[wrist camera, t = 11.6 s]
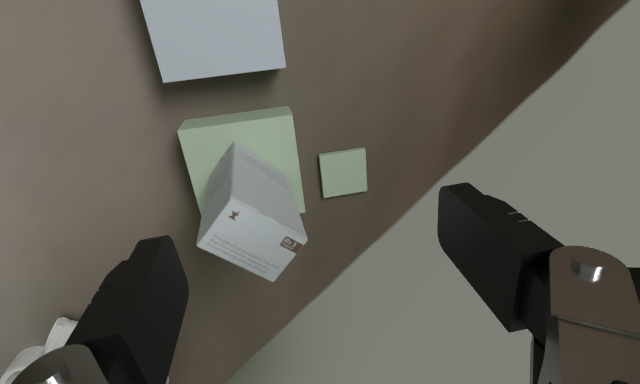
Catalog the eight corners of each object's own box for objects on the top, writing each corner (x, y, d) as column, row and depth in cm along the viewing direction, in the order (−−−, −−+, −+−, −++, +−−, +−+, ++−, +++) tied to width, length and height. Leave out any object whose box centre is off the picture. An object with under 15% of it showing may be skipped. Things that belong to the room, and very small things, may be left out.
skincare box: (208, 175, 32) (187, 249, 22) (235, 136, 31) (226, 194, 21) (264, 207, 35) (270, 289, 24) (291, 172, 34) (310, 241, 23)
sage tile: (363, 147, 38) (365, 148, 38) (365, 188, 40) (367, 190, 40) (318, 154, 38) (319, 156, 37) (322, 195, 40) (323, 198, 39)
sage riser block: (288, 105, 35) (292, 114, 31) (300, 195, 39) (305, 212, 36) (184, 119, 34) (177, 130, 30) (209, 210, 38) (205, 229, 35)
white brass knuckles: (191, 336, 46) (155, 410, 50) (31, 302, 40) (7, 389, 44) (186, 358, 43) (149, 434, 47) (13, 324, 37) (-11, 415, 41)
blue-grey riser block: (264, -66, 29) (266, -79, 25) (282, 63, 33) (285, 67, 30) (137, -56, 28) (120, -68, 24) (173, 76, 32) (163, 82, 29)
